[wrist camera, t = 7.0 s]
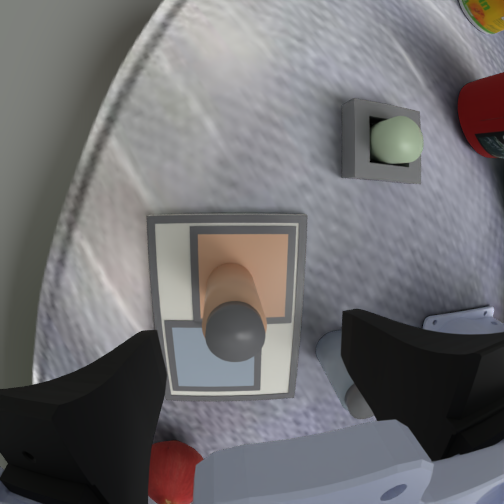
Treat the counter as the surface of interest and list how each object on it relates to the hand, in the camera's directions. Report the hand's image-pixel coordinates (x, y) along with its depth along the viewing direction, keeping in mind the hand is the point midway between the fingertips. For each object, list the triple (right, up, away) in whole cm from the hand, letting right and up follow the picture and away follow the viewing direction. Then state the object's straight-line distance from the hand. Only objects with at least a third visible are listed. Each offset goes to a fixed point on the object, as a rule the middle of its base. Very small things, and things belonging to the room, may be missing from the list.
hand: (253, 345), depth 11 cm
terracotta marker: (-1, +1, +8) cm, 9 cm away
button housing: (+8, +11, +8) cm, 16 cm away
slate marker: (+6, -4, +11) cm, 13 cm away
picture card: (-2, -1, +10) cm, 10 cm away
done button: (+8, +11, +8) cm, 16 cm away
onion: (-7, -14, +12) cm, 20 cm away
